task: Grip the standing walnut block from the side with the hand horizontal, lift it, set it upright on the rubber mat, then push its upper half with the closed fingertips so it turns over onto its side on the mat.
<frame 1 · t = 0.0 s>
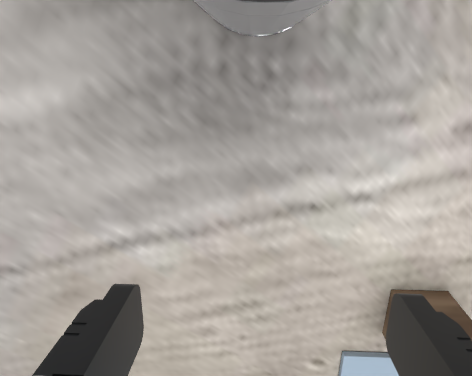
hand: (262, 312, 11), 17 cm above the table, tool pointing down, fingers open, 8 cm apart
walnut block: (414, 312, 32), on the table
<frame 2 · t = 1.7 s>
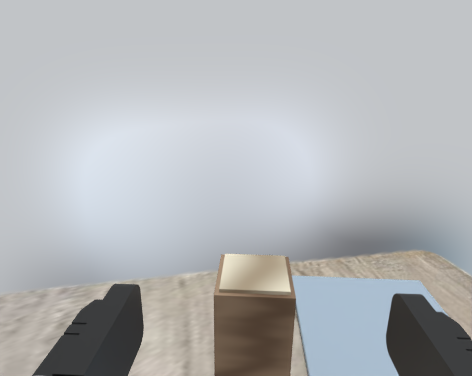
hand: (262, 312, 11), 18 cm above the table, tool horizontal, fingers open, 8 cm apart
mat: (389, 355, 32), on the table
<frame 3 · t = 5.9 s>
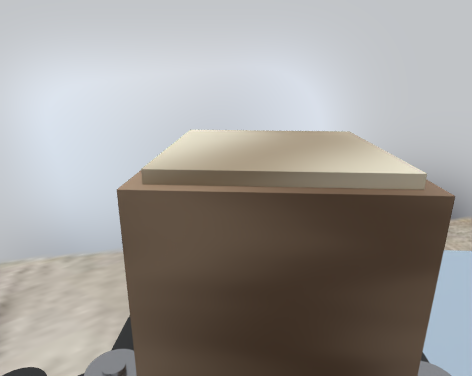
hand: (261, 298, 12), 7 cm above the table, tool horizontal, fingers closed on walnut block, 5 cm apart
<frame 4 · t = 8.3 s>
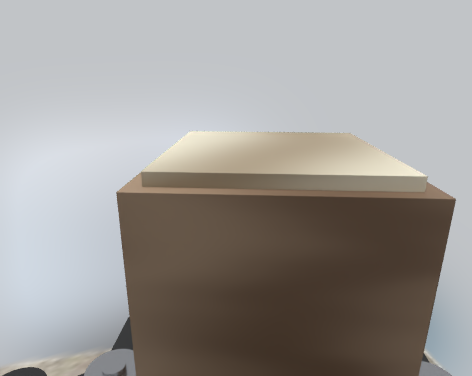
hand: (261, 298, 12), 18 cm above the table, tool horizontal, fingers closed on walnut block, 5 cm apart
when the fingers open (8 cm above the table, at t = 11.0 s): walnut block stays where it is, resting on mat.
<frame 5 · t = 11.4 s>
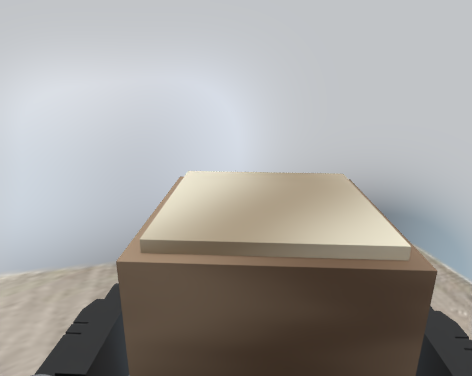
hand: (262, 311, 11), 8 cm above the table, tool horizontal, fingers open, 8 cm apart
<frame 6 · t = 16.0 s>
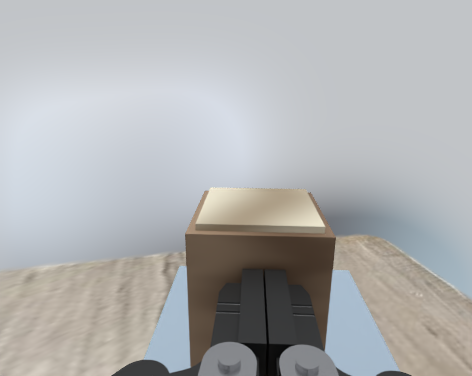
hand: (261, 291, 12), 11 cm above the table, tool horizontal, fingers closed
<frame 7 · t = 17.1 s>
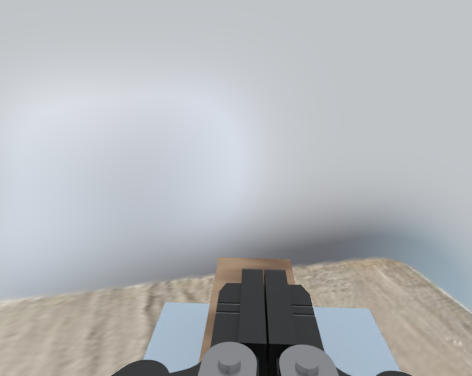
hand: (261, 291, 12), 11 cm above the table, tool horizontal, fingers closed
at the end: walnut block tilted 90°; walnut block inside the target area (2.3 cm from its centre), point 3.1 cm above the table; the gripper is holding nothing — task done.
